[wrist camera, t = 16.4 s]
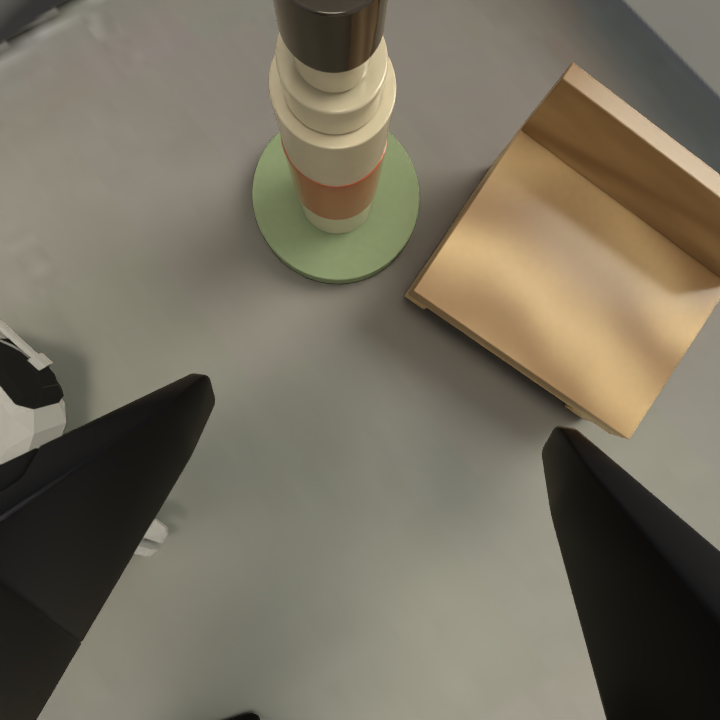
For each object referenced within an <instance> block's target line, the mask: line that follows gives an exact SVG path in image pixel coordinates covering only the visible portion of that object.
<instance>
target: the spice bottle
mask: <svg viewBox="0 0 720 720" xmlns="http://www.w3.org/2000/svg"><path fill="white" fill-rule="evenodd" d="M273 3H274V9H275V14H276V19H277V24H278V29H279V32H280V33H279V36H278V39H277V44H276V53H275V55H274V57H273V60H272V63H271V67H270V72H269V93H270V98H271V102H272V106H273V109H274V113H275V117H276V120H277V124H278V127H279V131H280V135H281V142H282V147H283V150H284V154H285V157H286V161H287V164H288V168H289V171H290V175H291V179H292V182H293V186H294V189H295V192H296V194H297V196H298V200H299V203H300V207H301V210H302V212H303V214H304V215H305V217H306V218H307V220H308V221H309V222H310V223H311V224H312V225H313V226H315V227H316V228H318V229H320V230H322V231H324V232H327V233H332V234H342V233H347V232H350V231H352V230H355V229H356V228H358V227H359V226H360V225H362V224H363V223H364V222H365V220H366V219H367V218H368V216H369V214H370V212H371V210H372V206H373V202H374V197H375V194H376V191H377V188H378V184H379V179H380V175H381V170H382V165H383V161H384V156H385V152H386V147H387V141H388V132H389V127H390V122H391V118H392V113H393V108H394V104H395V99H396V78H395V73H394V69H393V66H392V63H391V61H390V59H389V57H388V52H387V47H386V43H385V40H384V37H383V32H384V26H385V19H386V11H387V4H388V0H273Z"/></svg>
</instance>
